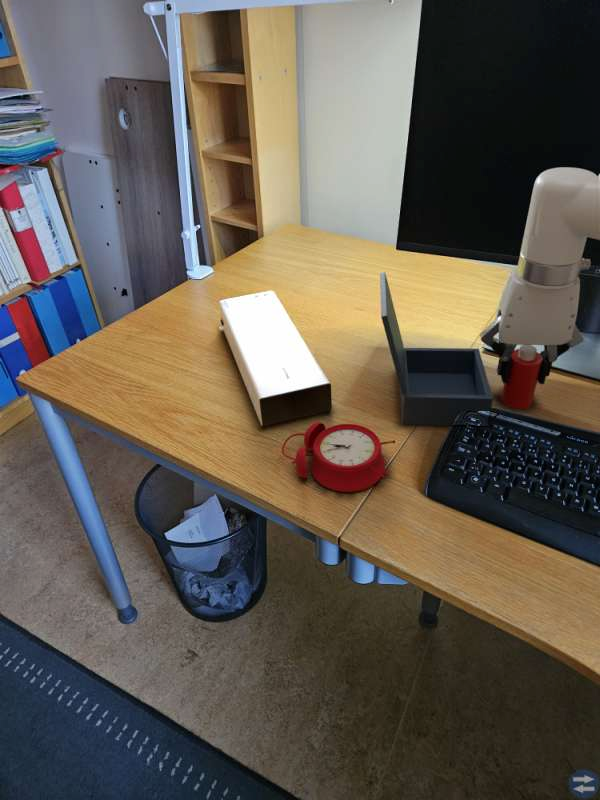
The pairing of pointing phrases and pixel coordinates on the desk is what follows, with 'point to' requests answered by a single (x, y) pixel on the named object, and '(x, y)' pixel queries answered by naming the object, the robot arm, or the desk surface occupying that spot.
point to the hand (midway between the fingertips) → (521, 377)
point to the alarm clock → (341, 456)
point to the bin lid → (392, 332)
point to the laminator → (273, 359)
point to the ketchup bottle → (522, 377)
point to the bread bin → (443, 385)
